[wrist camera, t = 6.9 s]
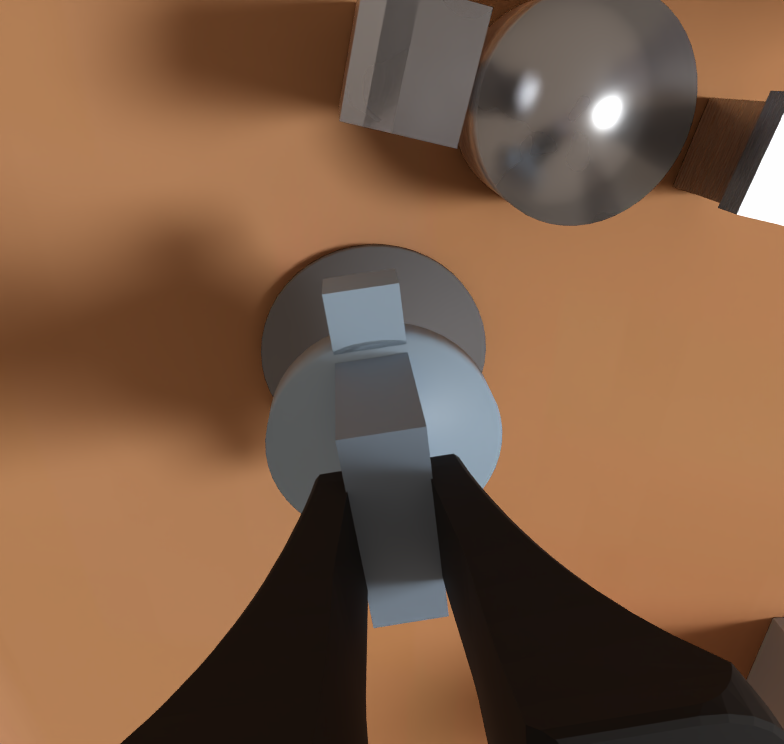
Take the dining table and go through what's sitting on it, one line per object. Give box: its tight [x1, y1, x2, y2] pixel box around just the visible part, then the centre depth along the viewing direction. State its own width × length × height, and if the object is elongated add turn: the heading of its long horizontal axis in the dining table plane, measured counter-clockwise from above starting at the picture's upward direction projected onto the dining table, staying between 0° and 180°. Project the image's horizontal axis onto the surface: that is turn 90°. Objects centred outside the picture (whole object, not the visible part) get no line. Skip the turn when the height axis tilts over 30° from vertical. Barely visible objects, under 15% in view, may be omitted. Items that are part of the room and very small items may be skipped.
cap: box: [265, 268, 502, 628], centre depth 13 cm, size 8×6×4 cm
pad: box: [261, 245, 486, 397], centre depth 19 cm, size 7×7×1 cm
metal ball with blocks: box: [339, 0, 784, 226], centre depth 14 cm, size 11×5×5 cm, turn 77°
